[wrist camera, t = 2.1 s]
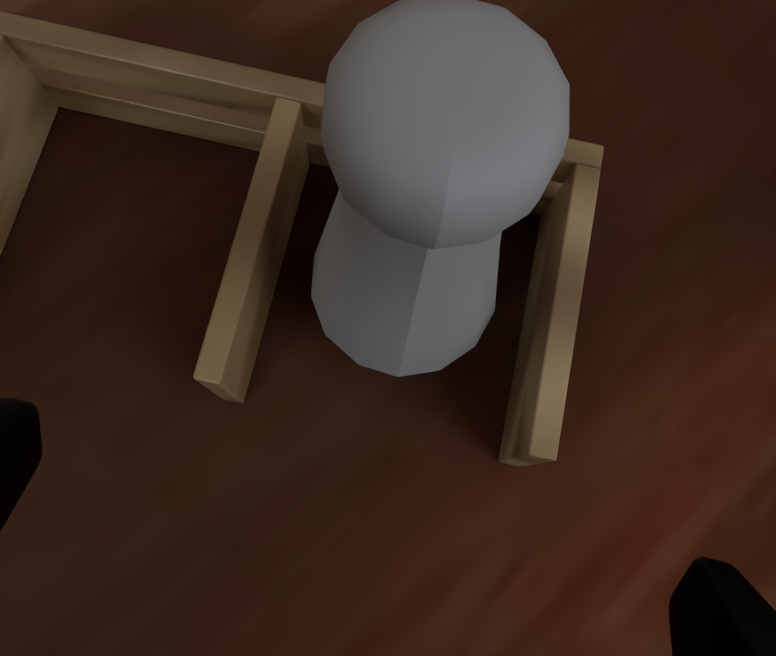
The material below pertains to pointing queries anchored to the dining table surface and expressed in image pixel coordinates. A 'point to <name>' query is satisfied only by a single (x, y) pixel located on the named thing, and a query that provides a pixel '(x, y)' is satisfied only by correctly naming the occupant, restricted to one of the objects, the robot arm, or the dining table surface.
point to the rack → (278, 195)
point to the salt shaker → (430, 175)
